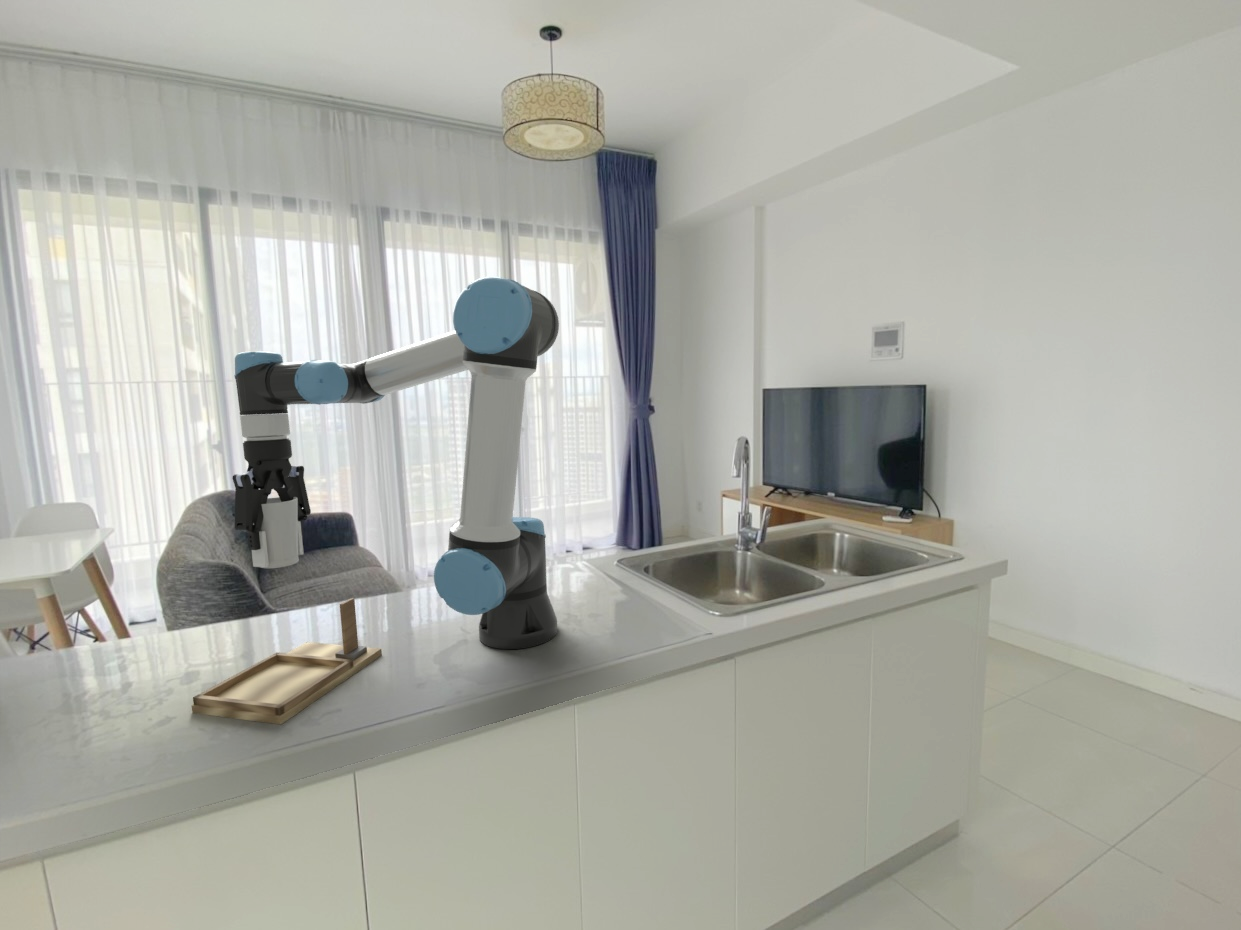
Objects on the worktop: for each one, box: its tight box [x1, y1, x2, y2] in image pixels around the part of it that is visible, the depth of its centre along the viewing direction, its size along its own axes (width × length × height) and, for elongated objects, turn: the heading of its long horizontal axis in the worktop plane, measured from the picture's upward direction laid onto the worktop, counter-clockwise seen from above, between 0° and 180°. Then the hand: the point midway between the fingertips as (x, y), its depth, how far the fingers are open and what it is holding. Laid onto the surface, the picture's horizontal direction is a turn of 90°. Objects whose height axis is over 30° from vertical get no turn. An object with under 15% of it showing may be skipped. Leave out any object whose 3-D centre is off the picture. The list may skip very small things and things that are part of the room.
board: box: [191, 597, 383, 725], centre depth 96 cm, size 16×23×11 cm
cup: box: [253, 496, 299, 569], centre depth 108 cm, size 8×8×12 cm
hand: (279, 560), depth 109 cm, fingers closed on cup, 7 cm apart
